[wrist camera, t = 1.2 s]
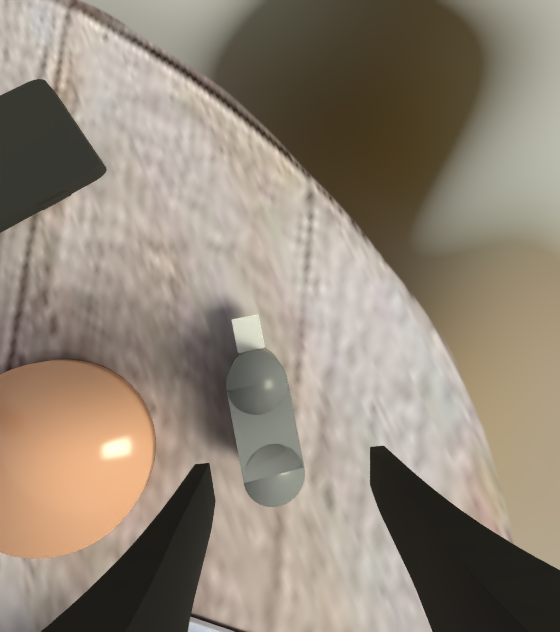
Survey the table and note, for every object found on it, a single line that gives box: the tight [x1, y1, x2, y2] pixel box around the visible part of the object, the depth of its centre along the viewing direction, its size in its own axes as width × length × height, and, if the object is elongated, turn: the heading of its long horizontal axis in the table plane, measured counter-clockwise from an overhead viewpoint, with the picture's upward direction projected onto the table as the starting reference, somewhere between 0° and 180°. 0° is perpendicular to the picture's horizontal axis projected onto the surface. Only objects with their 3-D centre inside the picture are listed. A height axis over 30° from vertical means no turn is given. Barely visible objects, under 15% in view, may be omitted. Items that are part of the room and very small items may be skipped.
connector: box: [226, 314, 305, 507], centre depth 19 cm, size 12×4×5 cm, turn 11°
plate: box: [0, 359, 156, 558], centre depth 19 cm, size 14×14×1 cm
